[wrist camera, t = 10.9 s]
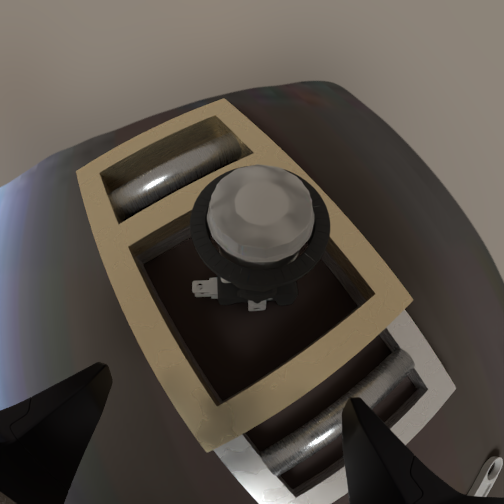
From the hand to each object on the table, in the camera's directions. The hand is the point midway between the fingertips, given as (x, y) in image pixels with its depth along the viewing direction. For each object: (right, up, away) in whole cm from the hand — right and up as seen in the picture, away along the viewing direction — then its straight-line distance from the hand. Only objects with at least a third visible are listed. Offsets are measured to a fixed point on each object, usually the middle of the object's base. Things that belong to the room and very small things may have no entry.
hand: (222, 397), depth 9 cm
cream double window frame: (+1, +3, +10) cm, 10 cm away
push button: (+1, +2, +10) cm, 10 cm away
